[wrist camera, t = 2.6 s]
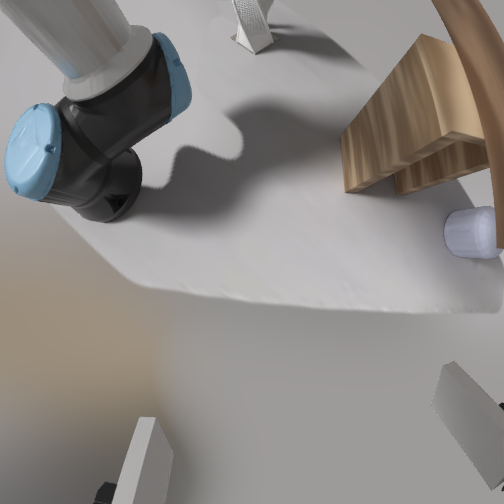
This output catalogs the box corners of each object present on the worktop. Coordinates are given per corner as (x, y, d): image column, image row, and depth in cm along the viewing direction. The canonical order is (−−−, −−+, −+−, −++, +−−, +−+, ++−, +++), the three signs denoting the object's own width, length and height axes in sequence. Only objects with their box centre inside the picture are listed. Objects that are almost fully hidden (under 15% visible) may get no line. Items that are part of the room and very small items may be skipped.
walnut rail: (496, 248, 17) (530, 249, 13) (431, 0, 16) (445, -21, 12) (520, 247, 17) (552, 248, 13) (458, 11, 16) (474, -7, 12)
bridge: (344, 192, 47) (451, 130, 17) (340, 137, 46) (421, 33, 16) (405, 194, 46) (530, 154, 16) (399, 142, 46) (504, 69, 16)
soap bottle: (435, 231, 46) (532, 225, 22) (458, 201, 46) (549, 183, 22) (457, 266, 47) (550, 277, 22) (479, 235, 46) (567, 233, 22)
